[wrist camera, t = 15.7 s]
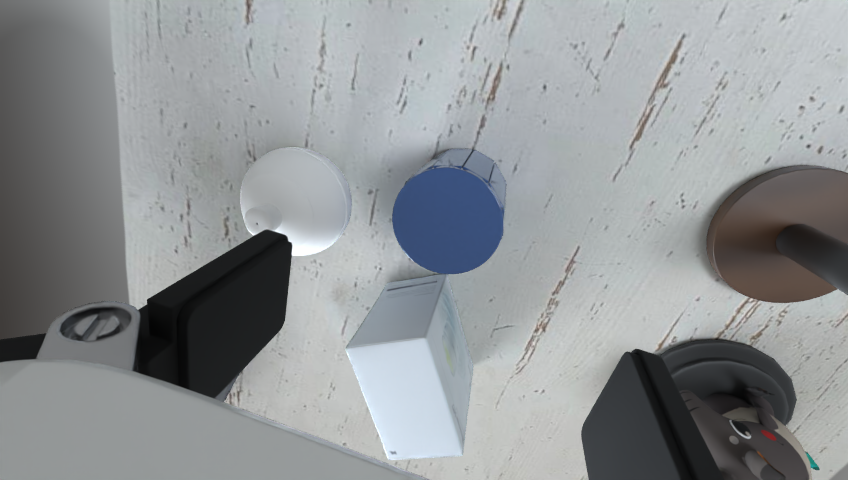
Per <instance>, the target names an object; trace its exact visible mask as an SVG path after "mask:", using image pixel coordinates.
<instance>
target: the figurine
mask: <svg viewBox="0 0 848 480" xmlns="http://www.w3.org/2000/svg"><path fill="white" fill-rule="evenodd" d="M660 357H661V358H662V359H663V360H664V362H665V364H666V366H667V368H668V370H669V372H670V374H671V376H672V378H673V380H674V382H675V384H676V386H677V388H678V390H679V392H680V394H681V396H682V398H683V400H684V402H685V403H686V405H687V407H688V409H689V411H690V413H691V415H692V417H693V419H694V421H695V423H696V425H697V427H698V429H699V431H700V433H701V435H702V437H703V439H704V441H705V443H706V445H707V447H708V448H709V450H710V452H711V454H712V456H713V458H714V460H715V462H716V464H717V466H718V468H719V470H720V472H721V474H722V476H723V478H724V480H812V474H811V468H813V469H815V470H820V469H819V467H818V466H817V464H816V463H815V462H814V460H813V459H812V458H811V456H810V455H809V454H808V453H807V452H805V451H804V449H803V447H802V445H801V444H800V442H799V441H798V440H797V439H796V437H795V436H794V435H793V434H792V433H791V432H790V430H789V429H788V428H786V427H785V426H786V425H787V424H788V422H789V421H790V420H791V418H792V415H793V411H794V408H795V404H796V400H797V399H796V395H795V391H794V387H793V383H792V380H791V378H790V377H789V376H788V375H787V374H786V373H785V371H784V370H783V369H782V368H781V367H780V366H779V364H778V363H777V362H776V361H775V360H774V359H773V358H771V357H769V356H768V355H766V354H764V353H762V352H760V351H759V350H757V349H755V348H753V347H751V346H748V345H744V344H739V343H734V342H730V341H725V340H710V341H693V342H690V343H687V344H684V345H681V346H678V347H675V348H672V349H669V350H668V351H666V352H665V353H663V354H662V355H661V356H660Z"/></svg>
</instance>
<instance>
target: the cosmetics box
mask: <svg viewBox="0 0 848 480" xmlns="http://www.w3.org/2000/svg"><path fill="white" fill-rule="evenodd" d="M346 352H347V354H348V357H349V359H350V362H351V364H352V367H353V369H354V372H355V374H356V377H357V380H358V382H359V385H360V387H361V390H362V392H363V395H364V397H365V400H366V403H367V405H368V408H369V410H370V413H371V416H372V418H373V421H374V423H375V426H376V429H377V431H378V434H379V436H380V439H381V442H382V444H383V447H384V450H385V452H386V455H387V458H388V459H389V460H398V459H417V458H438V457H454V456H462V455H463V449H464V441H465V432H466V423H467V415H468V407H469V398H470V390H471V383H472V375H473V364H472V360H471V356H470V353H469V349H468V346H467V342H466V339H465V335H464V331H463V328H462V324H461V321H460V317H459V314H458V310H457V306H456V303H455V299H454V296H453V292H452V288H451V285H450V281H449V277H448V274H439V275H433V276H428V277H423V278H415V279H410V280H404V281H397V282H390V283H387V284H386V285H385V287H384V289H383V291H382V292H381V294H380V296H379V297H378V299H377V301H376V302H375V304H374V305H373V307H372V309H371V310H370V312H369V313H368V315H367V316H366V318H365V319H364V321H363V323H362V324H361V326H360V327H359V329H358V330H357V332H356V333H355V335H354V336H353V338H352V339H351V341H350V342H349V344H348V345H347V346H346Z"/></svg>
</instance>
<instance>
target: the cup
mask: <svg viewBox="0 0 848 480" xmlns="http://www.w3.org/2000/svg"><path fill="white" fill-rule="evenodd" d="M506 185H507V184H506V180H505V179H504V177H503V175H502V173H501V171H500V169H499V168H498V166H497V164H496V163H494V160H492V159H490V158H489V157H487V156H485V155H484V154H482V153H480V152H479V151H477V150H474V151H473V149H450V150H447V151H445V152H443V153H442V154H440V155H438V156H436V157H435V158H433V159H431V160H430V161H429V162H428V163H427V164H425V165H424V166H423V167H422V168H421V169H420V170H419V171H417V172H416V173H415V174H414V175H413V176H412V177H411V178H409V179H408V180H407V181H406V183H405V185H404V187H403V188H402V189H401V191H400V192H399V194H398V196H397V198H396V200H395V204H394V207H393V214H392V222H393V229H394V233H395V236H396V238H397V241H398V243H399V245H400V246H401V248H402V249H403V251H404V252H405V253H406V254H407V255H408V257H409V258H411V259H412V260H413V261H414V262H415V263H417V264H418V265H420V266H422V267H423V268H425V269H428V270H430V271H433V272H437V273H442V274H459V273H464V272H468V271H470V270H473V269H475V268H477V267H479V266H480V265H482V264H483V263H485V262H486V261H487V260H488V259H489V258H490V257H491V256H492V255H493V253H494V252H495V250H496V249H497V247H498V245H499V243H500V241H501V239H502V236H503V231H504V218H505V206H506Z"/></svg>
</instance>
